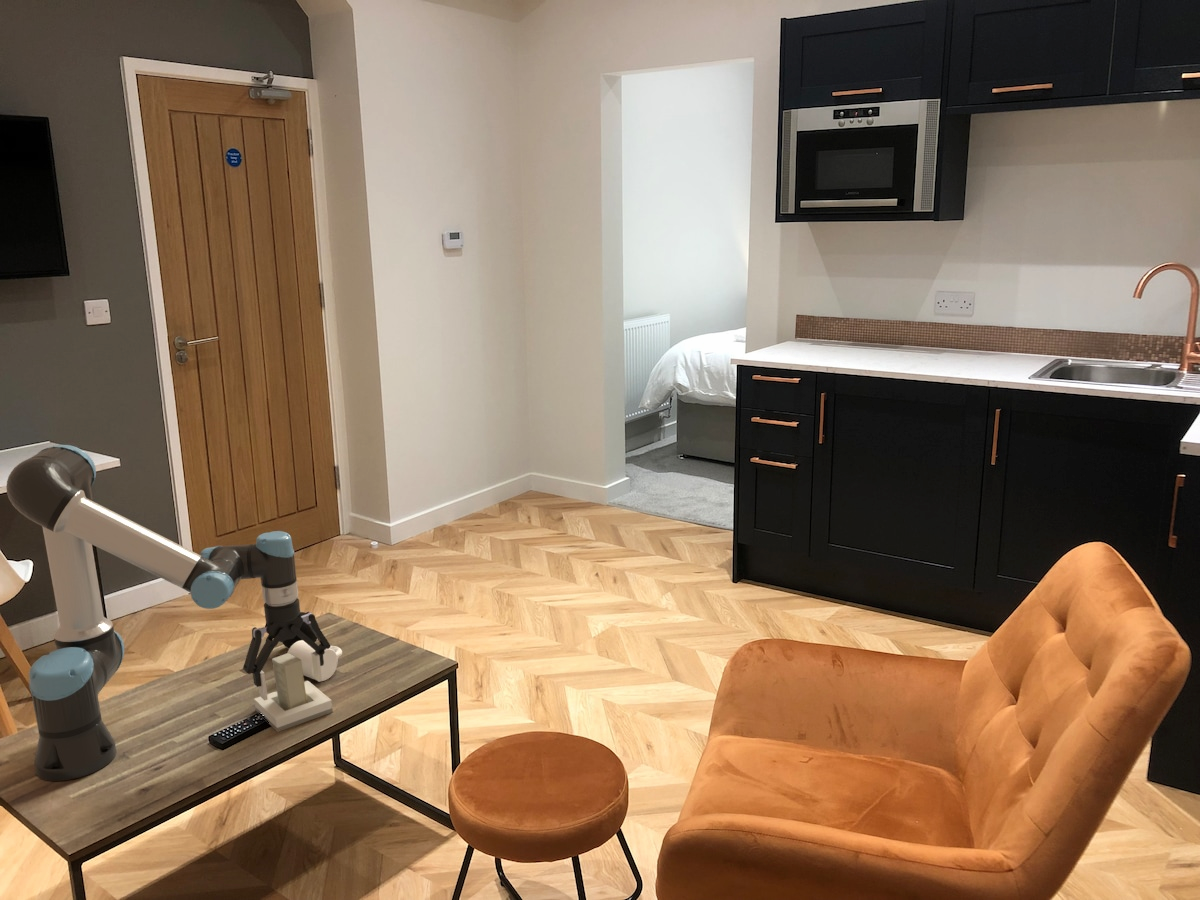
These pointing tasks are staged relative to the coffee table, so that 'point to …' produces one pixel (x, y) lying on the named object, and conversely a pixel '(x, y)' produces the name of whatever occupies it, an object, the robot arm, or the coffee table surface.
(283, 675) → the skincare box
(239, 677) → the coffee table surface
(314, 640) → the decorative ball
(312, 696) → the socket block
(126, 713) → the coffee table surface
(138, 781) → the coffee table surface
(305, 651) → the mug
